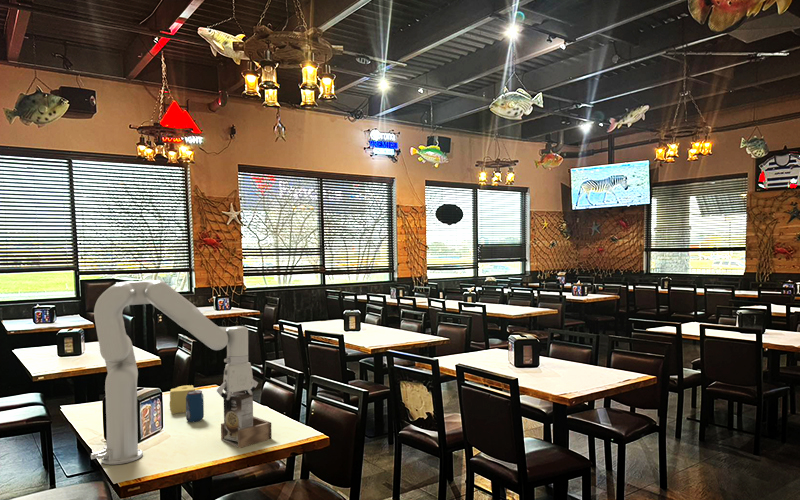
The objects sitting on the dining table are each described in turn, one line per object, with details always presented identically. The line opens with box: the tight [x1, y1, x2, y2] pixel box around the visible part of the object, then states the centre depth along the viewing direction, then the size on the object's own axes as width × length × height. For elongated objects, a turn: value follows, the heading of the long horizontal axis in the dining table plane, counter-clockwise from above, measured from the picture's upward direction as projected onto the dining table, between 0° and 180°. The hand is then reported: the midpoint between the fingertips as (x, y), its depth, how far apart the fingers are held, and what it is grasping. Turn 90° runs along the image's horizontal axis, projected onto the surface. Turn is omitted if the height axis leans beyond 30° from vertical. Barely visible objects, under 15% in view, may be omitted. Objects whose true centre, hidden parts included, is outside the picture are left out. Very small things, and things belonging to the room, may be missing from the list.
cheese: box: [169, 384, 196, 415], centre depth 246 cm, size 10×11×10 cm
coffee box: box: [223, 392, 254, 443], centre depth 202 cm, size 9×6×16 cm
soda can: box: [185, 389, 205, 424], centre depth 229 cm, size 7×7×12 cm
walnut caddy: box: [220, 415, 273, 449], centre depth 204 cm, size 13×13×6 cm
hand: (237, 407), depth 202 cm, fingers closed on coffee box, 7 cm apart
